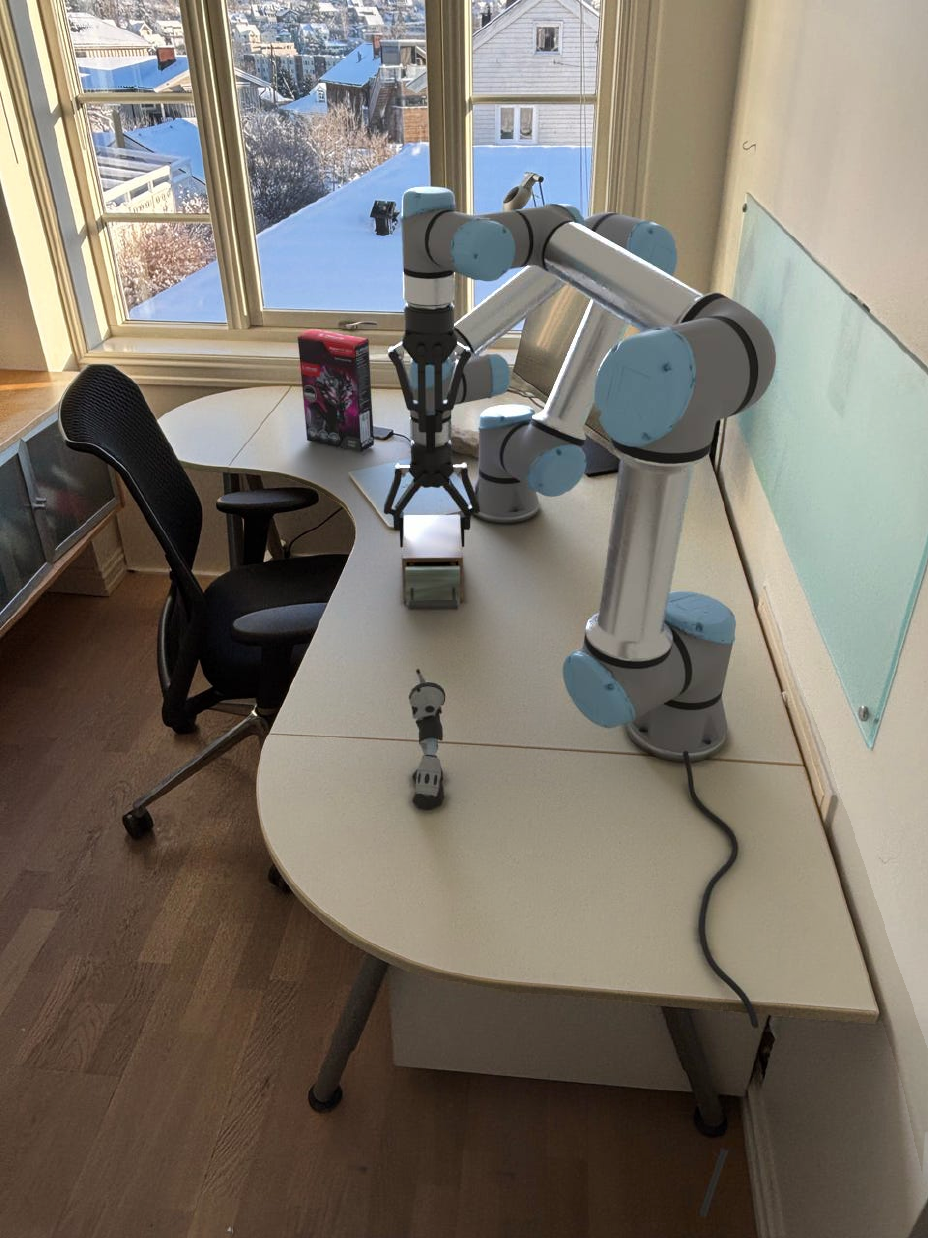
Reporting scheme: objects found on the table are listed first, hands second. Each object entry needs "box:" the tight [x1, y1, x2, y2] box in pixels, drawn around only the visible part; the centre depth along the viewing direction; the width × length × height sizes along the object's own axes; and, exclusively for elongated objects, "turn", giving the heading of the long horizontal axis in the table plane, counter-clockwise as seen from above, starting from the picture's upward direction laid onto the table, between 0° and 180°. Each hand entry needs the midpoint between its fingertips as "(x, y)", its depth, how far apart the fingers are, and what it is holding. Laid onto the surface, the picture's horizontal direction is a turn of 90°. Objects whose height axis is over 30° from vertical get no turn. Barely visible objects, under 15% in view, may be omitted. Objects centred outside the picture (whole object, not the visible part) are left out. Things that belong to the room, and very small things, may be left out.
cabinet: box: [401, 514, 464, 604], centre depth 177 cm, size 17×11×10 cm, turn 2°
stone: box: [450, 424, 479, 458], centre depth 231 cm, size 21×15×6 cm
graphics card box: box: [297, 328, 375, 454], centre depth 227 cm, size 17×7×27 cm, turn 62°
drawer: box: [405, 562, 461, 611], centre depth 172 cm, size 22×10×8 cm, turn 2°
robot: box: [408, 668, 446, 810], centre depth 126 cm, size 20×5×20 cm, turn 3°
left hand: (432, 543), depth 182 cm, fingers closed on cabinet, 11 cm apart
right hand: (430, 450), depth 150 cm, fingers closed
